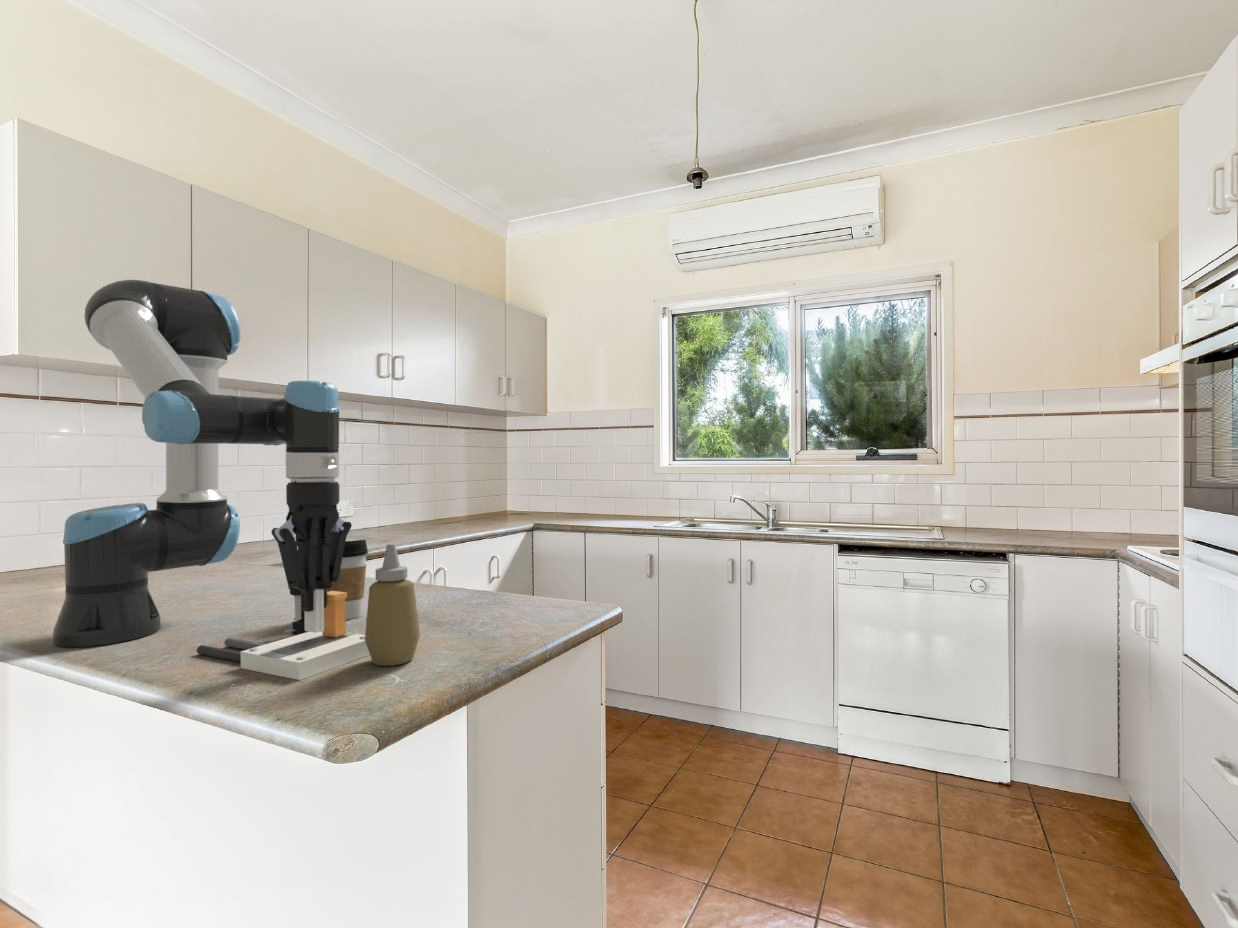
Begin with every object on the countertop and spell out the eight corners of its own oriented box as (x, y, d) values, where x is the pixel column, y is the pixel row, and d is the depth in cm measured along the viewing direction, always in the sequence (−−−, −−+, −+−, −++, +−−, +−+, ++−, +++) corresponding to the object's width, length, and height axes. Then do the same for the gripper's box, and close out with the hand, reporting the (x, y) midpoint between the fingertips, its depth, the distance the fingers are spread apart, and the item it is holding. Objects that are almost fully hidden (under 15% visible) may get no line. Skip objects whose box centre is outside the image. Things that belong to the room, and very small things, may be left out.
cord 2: (224, 647, 107) (224, 638, 107) (232, 644, 108) (232, 636, 108) (274, 656, 101) (274, 647, 101) (282, 654, 102) (282, 645, 102)
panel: (240, 668, 96) (240, 650, 96) (320, 642, 108) (320, 627, 108) (299, 680, 90) (299, 661, 90) (376, 652, 103) (376, 635, 103)
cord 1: (196, 654, 103) (196, 646, 103) (205, 652, 104) (205, 643, 104) (247, 665, 97) (247, 656, 97) (256, 662, 98) (256, 653, 98)
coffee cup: (358, 621, 122) (357, 543, 122) (314, 622, 123) (313, 544, 122) (375, 611, 131) (374, 538, 131) (335, 611, 131) (333, 538, 131)
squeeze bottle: (388, 673, 93) (386, 549, 92) (353, 664, 97) (351, 546, 97) (431, 657, 100) (429, 543, 99) (397, 650, 104) (395, 540, 104)
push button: (293, 642, 109) (292, 584, 109) (275, 638, 112) (274, 581, 112) (328, 632, 115) (327, 577, 115) (310, 629, 118) (309, 575, 117)
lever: (320, 635, 103) (319, 593, 103) (333, 631, 105) (332, 590, 105) (335, 637, 101) (334, 595, 101) (347, 633, 104) (346, 592, 103)
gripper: (292, 481, 92) (293, 644, 92) (363, 479, 104) (364, 623, 104) (258, 481, 96) (259, 638, 96) (331, 479, 107) (332, 619, 107)
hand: (314, 630), depth 100 cm, fingers closed
